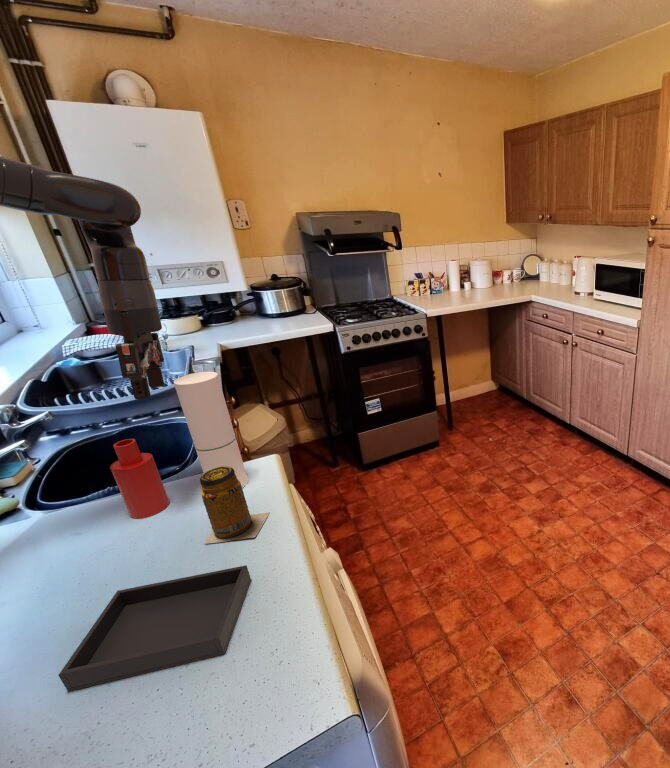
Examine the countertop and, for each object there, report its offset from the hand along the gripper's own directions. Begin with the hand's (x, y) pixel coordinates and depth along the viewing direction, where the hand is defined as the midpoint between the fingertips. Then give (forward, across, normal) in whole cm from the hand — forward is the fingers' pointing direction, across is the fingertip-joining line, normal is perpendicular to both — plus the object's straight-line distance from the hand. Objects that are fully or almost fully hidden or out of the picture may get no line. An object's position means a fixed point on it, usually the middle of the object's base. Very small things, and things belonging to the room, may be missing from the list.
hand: (150, 392), depth 82 cm
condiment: (+24, +14, +13) cm, 31 cm away
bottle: (+24, 0, -4) cm, 24 cm away
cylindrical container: (+23, -2, +9) cm, 25 cm away
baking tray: (+26, +34, +6) cm, 44 cm away
